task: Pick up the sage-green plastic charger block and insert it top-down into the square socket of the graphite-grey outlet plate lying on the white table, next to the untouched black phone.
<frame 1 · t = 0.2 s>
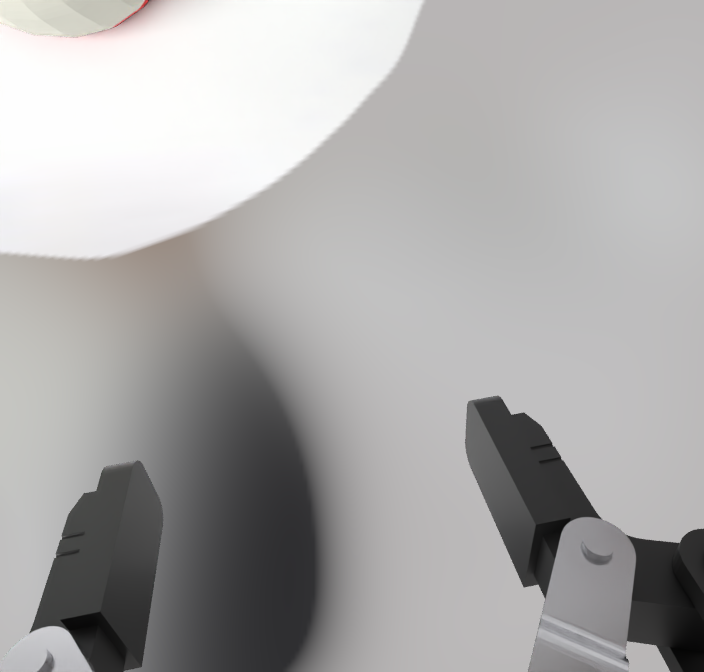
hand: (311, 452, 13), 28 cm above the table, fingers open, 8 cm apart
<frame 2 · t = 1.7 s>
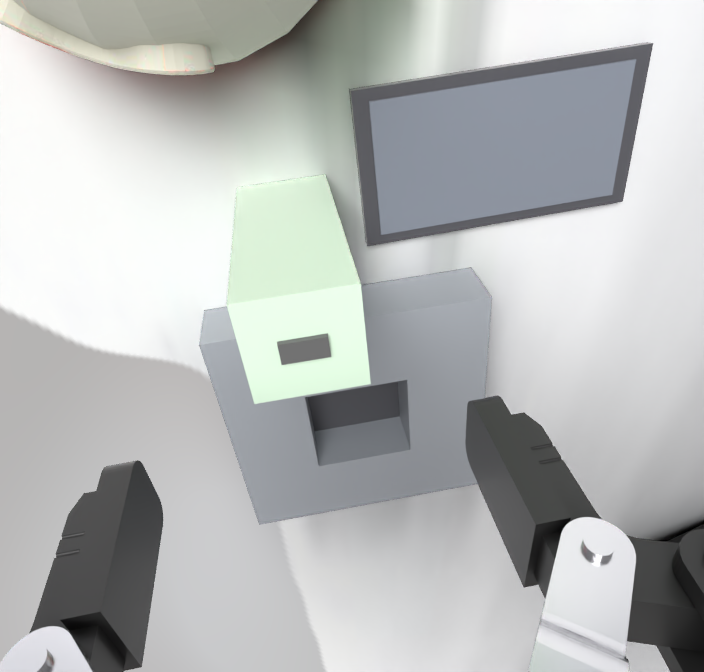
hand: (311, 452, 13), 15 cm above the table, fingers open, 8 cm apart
outlet plate: (352, 389, 31), on the table
phone: (492, 145, 25), on the table
charger: (288, 222, 25), on the table
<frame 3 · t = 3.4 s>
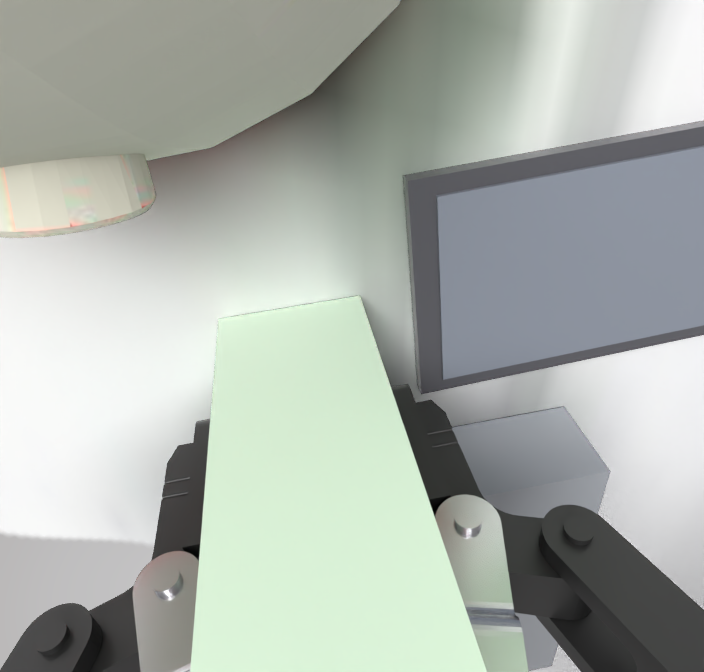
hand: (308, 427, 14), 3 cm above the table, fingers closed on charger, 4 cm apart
outlet plate: (384, 554, 23), on the table
phone: (614, 244, 16), on the table
charger: (300, 362, 16), on the table, touching gripper
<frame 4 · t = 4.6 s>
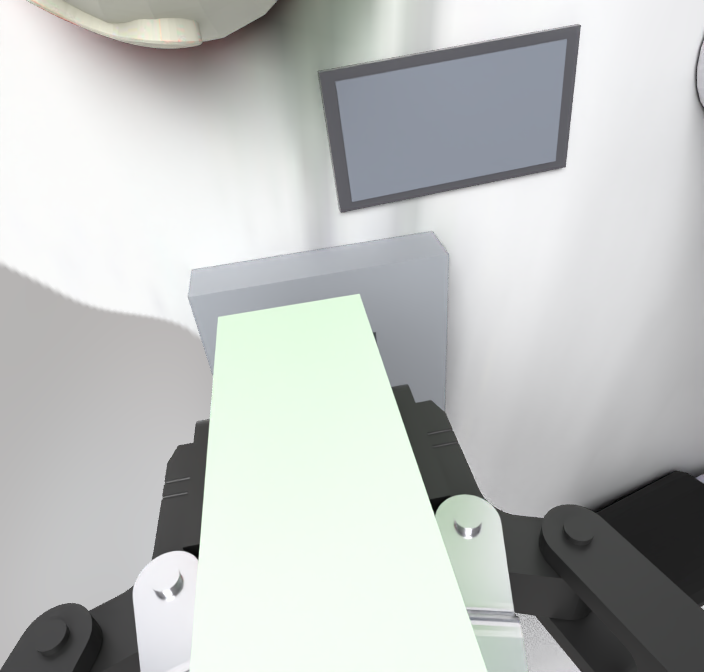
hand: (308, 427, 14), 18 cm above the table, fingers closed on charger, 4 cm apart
outlet plate: (328, 346, 34), on the table
phone: (447, 119, 28), on the table
charger: (300, 360, 16), point 15 cm above the table, touching gripper
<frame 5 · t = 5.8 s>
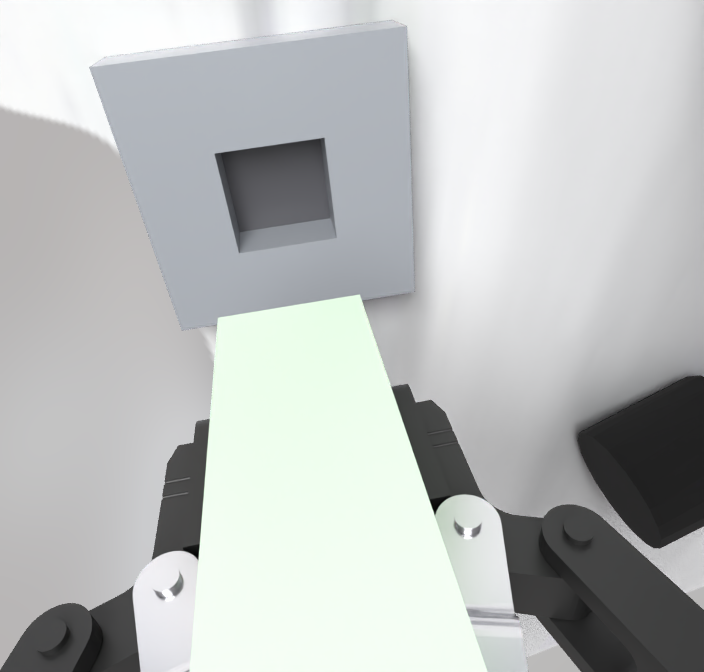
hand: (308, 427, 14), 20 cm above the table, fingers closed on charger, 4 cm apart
outlet plate: (277, 179, 30), on the table
charger: (300, 361, 16), point 17 cm above the table, touching gripper
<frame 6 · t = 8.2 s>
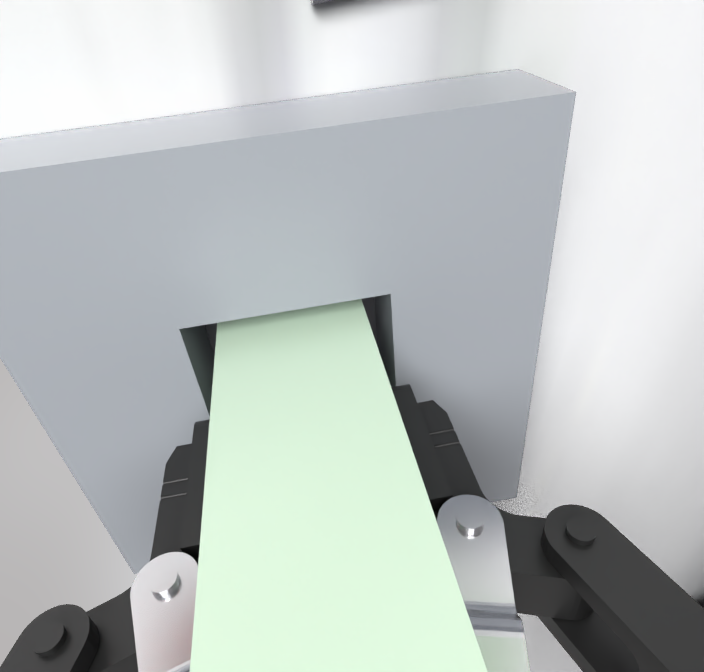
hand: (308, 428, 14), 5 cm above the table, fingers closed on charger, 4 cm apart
outlet plate: (294, 330, 17), on the table
charger: (300, 360, 16), point 2 cm above the table, touching gripper
when the fingers open (5 cm above the table, at t = 8.2 s): charger drops 2 cm, resting on outlet plate.
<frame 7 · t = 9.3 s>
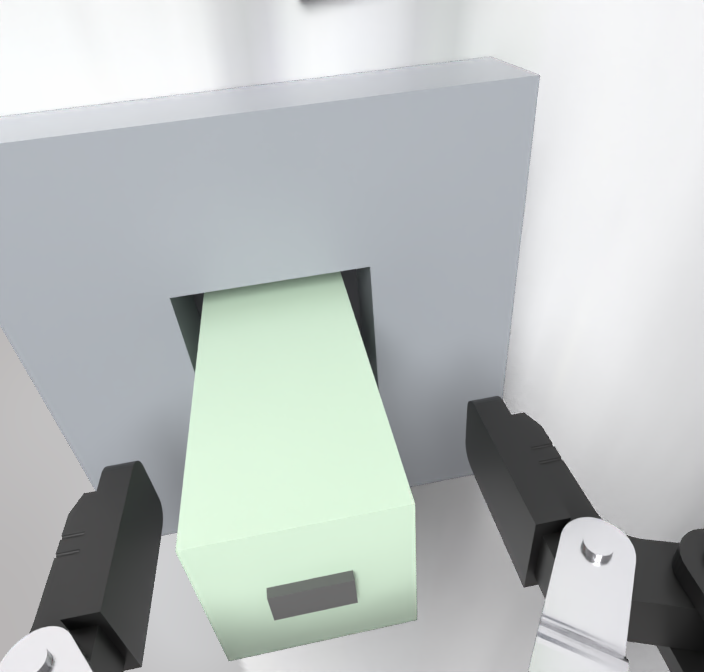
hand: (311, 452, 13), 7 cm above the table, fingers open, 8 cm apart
outlet plate: (280, 307, 18), on the table
charger: (280, 309, 18), resting on outlet plate
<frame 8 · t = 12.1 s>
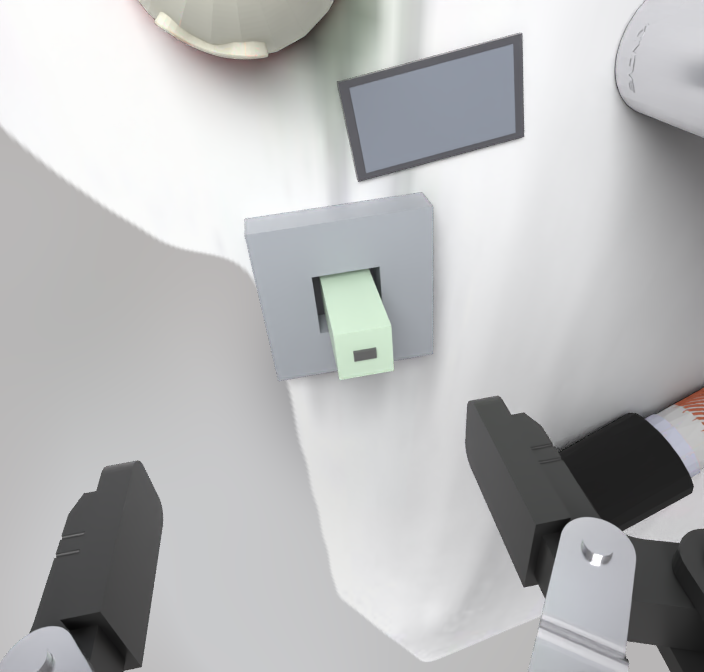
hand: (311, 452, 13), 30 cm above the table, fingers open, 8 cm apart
outlet plate: (343, 282, 45), on the table
bottle: (684, 395, 62), on the table
phone: (432, 108, 39), on the table
charger: (343, 283, 45), resting on outlet plate
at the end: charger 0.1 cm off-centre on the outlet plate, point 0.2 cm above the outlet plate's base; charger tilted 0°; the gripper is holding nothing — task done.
